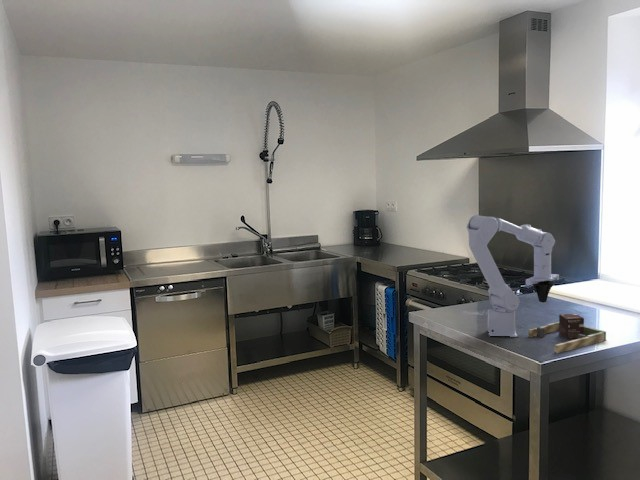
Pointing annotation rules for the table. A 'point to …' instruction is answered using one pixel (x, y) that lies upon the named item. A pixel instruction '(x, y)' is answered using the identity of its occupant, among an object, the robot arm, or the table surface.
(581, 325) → the box
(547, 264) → the robot arm
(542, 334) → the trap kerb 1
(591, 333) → the wooden frame
